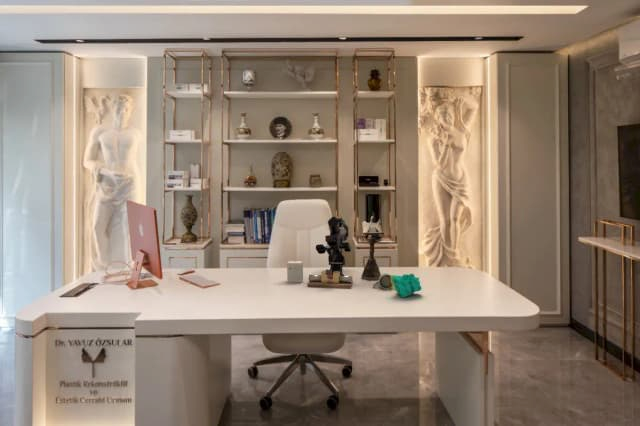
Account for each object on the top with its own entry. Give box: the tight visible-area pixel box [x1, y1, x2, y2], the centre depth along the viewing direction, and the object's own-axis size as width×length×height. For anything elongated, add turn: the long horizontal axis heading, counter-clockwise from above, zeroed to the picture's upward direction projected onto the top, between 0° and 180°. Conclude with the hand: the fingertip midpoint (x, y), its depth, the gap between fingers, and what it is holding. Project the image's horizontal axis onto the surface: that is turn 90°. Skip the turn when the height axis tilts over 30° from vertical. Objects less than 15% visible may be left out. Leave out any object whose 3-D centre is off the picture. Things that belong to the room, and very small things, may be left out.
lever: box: [325, 269, 333, 280], centre depth 248 cm, size 2×3×11 cm
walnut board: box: [307, 279, 354, 290], centre depth 253 cm, size 12×22×2 cm, turn 81°
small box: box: [286, 260, 304, 283], centre depth 261 cm, size 8×6×10 cm
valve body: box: [308, 270, 353, 284], centre depth 252 cm, size 4×22×6 cm, turn 81°
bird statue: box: [361, 215, 385, 281], centre depth 267 cm, size 17×13×35 cm
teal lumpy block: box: [390, 273, 423, 298], centre depth 231 cm, size 15×12×13 cm
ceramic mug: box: [372, 272, 393, 290], centre depth 248 cm, size 10×8×7 cm
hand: (331, 261), depth 260 cm, fingers closed
